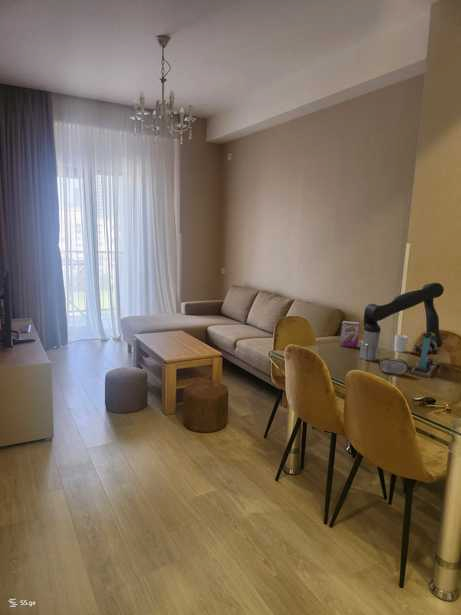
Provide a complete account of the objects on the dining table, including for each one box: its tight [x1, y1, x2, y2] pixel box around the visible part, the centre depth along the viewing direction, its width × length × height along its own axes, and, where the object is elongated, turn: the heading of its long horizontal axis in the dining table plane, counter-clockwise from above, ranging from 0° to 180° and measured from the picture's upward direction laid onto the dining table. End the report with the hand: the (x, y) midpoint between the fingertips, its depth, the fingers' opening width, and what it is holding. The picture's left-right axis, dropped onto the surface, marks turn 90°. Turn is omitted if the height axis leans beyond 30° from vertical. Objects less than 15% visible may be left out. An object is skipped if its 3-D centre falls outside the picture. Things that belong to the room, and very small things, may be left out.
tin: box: [378, 357, 409, 376], centre depth 232 cm, size 15×3×8 cm, turn 71°
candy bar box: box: [339, 320, 361, 349], centre depth 285 cm, size 11×5×16 cm, turn 77°
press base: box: [409, 357, 439, 379], centre depth 245 cm, size 32×10×5 cm, turn 148°
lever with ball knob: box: [416, 330, 433, 372], centre depth 238 cm, size 12×6×22 cm, turn 148°
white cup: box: [393, 334, 409, 353], centre depth 282 cm, size 8×8×10 cm
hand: (424, 352), depth 233 cm, fingers closed on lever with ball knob, 3 cm apart
